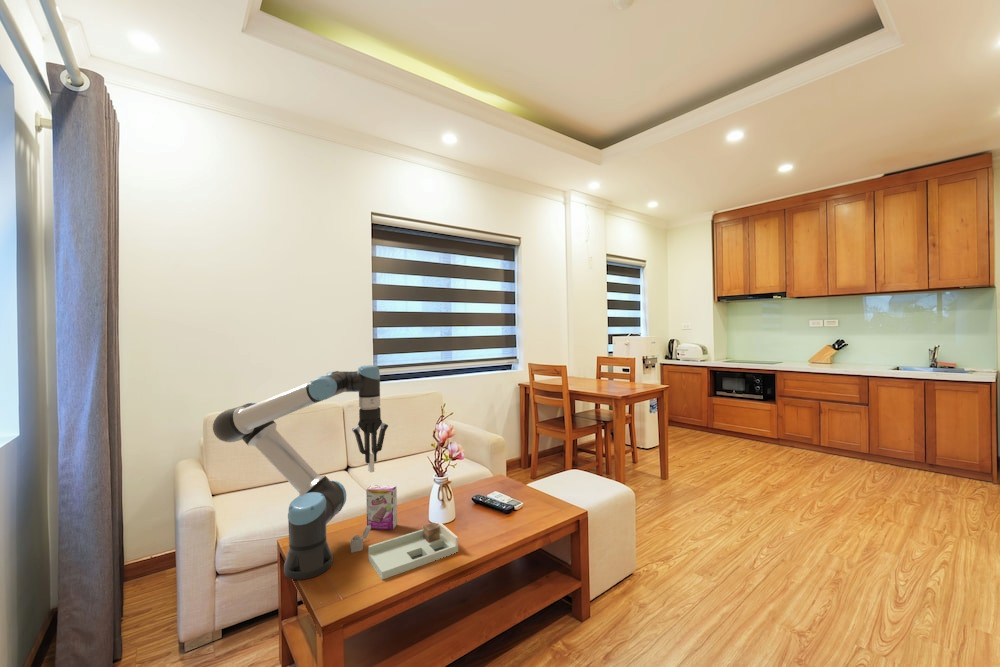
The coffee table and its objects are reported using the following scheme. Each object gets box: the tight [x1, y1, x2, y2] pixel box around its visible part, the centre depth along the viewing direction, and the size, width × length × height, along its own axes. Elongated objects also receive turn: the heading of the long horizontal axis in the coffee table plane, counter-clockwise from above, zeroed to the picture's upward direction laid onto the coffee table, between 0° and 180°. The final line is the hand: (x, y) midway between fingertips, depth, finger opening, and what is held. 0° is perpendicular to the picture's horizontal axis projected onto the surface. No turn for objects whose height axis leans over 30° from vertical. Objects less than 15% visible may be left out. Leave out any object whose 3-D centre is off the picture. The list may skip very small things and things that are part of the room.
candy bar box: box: [366, 484, 398, 531], centre depth 171 cm, size 11×5×16 cm, turn 84°
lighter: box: [349, 525, 372, 554], centre depth 155 cm, size 7×2×8 cm, turn 117°
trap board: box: [367, 522, 459, 581], centre depth 150 cm, size 28×14×6 cm, turn 124°
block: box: [422, 522, 440, 543], centre depth 157 cm, size 4×4×4 cm
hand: (371, 471), depth 156 cm, fingers closed
